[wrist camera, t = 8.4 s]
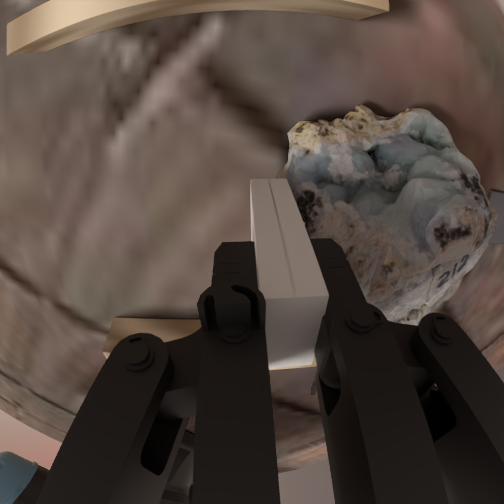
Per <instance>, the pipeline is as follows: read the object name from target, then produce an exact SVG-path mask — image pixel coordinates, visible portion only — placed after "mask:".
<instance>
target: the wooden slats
mask: <svg viewBox="0 0 504 504" xmlns="http://www.w3.org/2000/svg"><path fill="white" fill-rule="evenodd" d="M228 10H275V11H292V12H303V13H313V14H321V15H328V16H335V17H341V18H347V19H352V20H357V21H358V20H361V19H364V18H367V17H371V16H374V15H377V14H381V13H385V12H388V11H389V0H51V1H48V2H46V3H44V4H42V5H40V6H38V7H37V8H35V9H33V10H31V11H29V12H27V13H25V14H24V15H22V16H20V17H18V18H17V19H15V20H13V21H12V22H10V23H8V24H7V55H14V54H22V53H32V52H45V51H49V50H51V49H53V48H56V47H58V46H61V45H63V44H66V43H69V42H71V41H74V40H77V39H80V38H83V37H86V36H89V35H92V34H95V33H98V32H102V31H105V30H108V29H112V28H116V27H120V26H124V25H128V24H132V23H136V22H141V21H146V20H151V19H156V18H162V17H168V16H175V15H182V14H190V13H200V12H211V11H228ZM201 327H202V326H201V321H200V320H194V319H139V318H116V317H114V320H113V323H112V325H111V328H110V331H109V334H108V337H107V339H106V342H105V345H104V348H103V351H102V352H103V354H104V356H105V357H106V359H107V358H108V357H109V355H110V353H111V351H112V350H113V348H114V347H115V346H116V345H117V344H118V343H119V341H121V340H122V339H124V338H126V337H127V336H129V335H132V334H136V333H151V334H153V335H155V336H157V337H160V338H161V339H162V341H163V342H168V341H172V340H176V339H180V338H183V337H186V336H188V335H191V334H192V333H194V332H196V331H197V330H199V329H200V328H201ZM314 366H317V364H316V359H315V355H314V359H313V362H312V365H303V366H292V367H276V368H269V370H275V369H290V368H303V367H314Z"/></svg>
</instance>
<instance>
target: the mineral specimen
mask: <svg viewBox="0 0 504 504" xmlns="http://www.w3.org/2000/svg"><path fill="white" fill-rule="evenodd" d="M287 134H288V138H289V142H290V146H289V154H288V163H287V164H286V165H285V166H284V167H283V168H282V169H281V170H280V171H279V172H278V174H277V177H276V179H287V181H288V184H289V186H290V189H291V191H292V194H293V196H294V199H295V202H296V204H297V207H298V209H299V212H300V215H301V217H302V220H303V221H304V222H305V228H306V231H307V233H308V236H309V239H312V238H332V239H333V240H334V241H335V242H336V243H338V244H339V245H340V246H341V247H342V249H343V251H344V253H345V255H346V257H347V260H348V261H349V264H350V266H351V269H352V270H353V272H354V274H355V276H356V279H357V281H358V283H359V285H360V287H361V290H362V292H363V294H364V296H365V299H366V301H367V303H369V304H372V305H374V306H375V307H377V308H378V309H380V310H381V311H382V312H383V314H384V315H385V317H386V318H387V320H388V321H392V322H396V323H402V324H409V325H416V326H418V324H419V322H420V320H421V319H422V318H423V317H424V316H425V315H427V314H429V313H430V312H431V311H432V310H433V309H434V307H436V306H437V305H439V304H440V303H441V302H443V301H446V300H447V299H449V298H450V297H451V296H452V295H453V294H454V292H455V291H456V288H457V283H458V280H459V279H460V278H461V277H462V276H464V275H465V274H466V273H468V272H469V271H470V270H471V269H472V268H473V267H474V265H475V264H476V263H477V261H478V260H479V258H480V257H481V255H482V254H483V252H484V251H485V249H486V247H487V245H488V243H489V241H490V238H491V237H492V235H493V233H494V231H495V230H496V228H497V227H498V214H497V212H496V210H495V209H494V207H493V206H492V205H491V203H490V201H489V200H488V198H487V196H486V193H485V190H484V188H483V187H482V185H481V184H480V175H479V173H478V171H477V170H476V168H475V166H474V165H473V163H472V162H471V160H469V159H468V158H467V157H465V156H464V155H463V154H461V153H460V152H459V150H458V149H457V148H456V146H455V144H454V142H453V139H452V137H451V135H450V133H449V131H448V128H447V127H446V126H445V125H444V124H443V123H442V122H441V121H440V120H438V119H437V118H436V117H435V116H434V115H433V114H432V113H431V112H430V111H428V110H426V109H422V108H407V109H406V110H405V112H401V113H399V114H398V115H396V116H394V117H392V118H387V117H382V116H379V115H377V114H375V113H373V111H372V110H371V109H369V108H367V107H366V106H364V105H362V104H361V105H358V106H356V108H355V110H354V111H353V112H349V113H348V114H346V116H345V118H344V119H339V118H337V119H335V120H334V121H332V122H328V121H326V120H318V121H317V122H313V121H301V122H298V123H297V124H296V125H295V126H294V127H293V128H292V129H291V130H290V131H289V132H288V133H287Z"/></svg>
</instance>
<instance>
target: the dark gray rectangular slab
mask: <svg viewBox="0 0 504 504" xmlns="http://www.w3.org/2000/svg"><path fill="white" fill-rule="evenodd" d="M488 200H489V201H490V203H491V205H492V206H493V207H494V209H495V210H496V212H497V214H498V227H497V228H496V230H495V231H494V233H493V235H492V237H491V238H490V241H489V243H488V244H504V192H499V191H493V190H490V194H489V197H488Z"/></svg>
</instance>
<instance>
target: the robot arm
mask: <svg viewBox="0 0 504 504" xmlns="http://www.w3.org/2000/svg"><path fill="white" fill-rule="evenodd" d="M250 200H251V241H247V242H222V244H221V245H220V246H219V247H218V249H217V250H216V251H215V255H214V266H213V276H212V284H211V287H209V288H207V289H206V290H205V291H204V292H203V293H202V294H201V295H200V298H199V300H198V303H197V307H198V312H199V316H200V321H201V326H202V327H201V328H200V329H199V330H197V331H196V332H194V333H192V334H191V335H188V336H186V337H183V338H180V339H176V340H172V341H168V342H163V341H162V339H161V338H160V337H157V336H155V335H153V334H151V333H136V334H132V335H129V336H127V337H126V338H124V339H122V340H121V341H119V343H118V344H117V345H116V346H115V347H114V348H113V350H112V351H111V353H110V355H109V357H108V358H107V360H106V362H105V364H104V365H103V367H102V369H101V371H100V372H99V374H98V376H97V378H96V380H95V381H94V383H93V385H92V387H91V389H90V390H89V392H88V394H87V396H86V398H85V400H84V402H83V403H82V405H81V407H80V409H79V411H78V413H77V415H76V417H75V419H74V421H73V423H72V425H71V427H70V429H69V431H68V433H67V435H66V437H65V439H64V441H63V443H62V445H61V447H60V449H59V451H58V453H57V456H56V458H55V460H54V462H53V464H52V466H51V469H50V470H48V469H46V468H44V467H41V466H39V465H38V464H37V463H36V462H31V461H28V460H26V459H24V458H22V457H20V456H18V455H16V454H14V453H12V452H8V451H5V452H1V453H0V504H189V490H190V487H191V485H192V482H193V492H192V504H280V493H279V481H278V469H277V457H276V445H275V433H274V421H273V410H272V399H271V387H270V376H269V368H276V367H292V366H303V365H312V362H313V359H314V355H315V359H316V364H317V368H318V369H317V372H316V376H315V379H314V382H313V385H312V388H311V395H315V393H316V390H317V394H318V400H319V405H320V411H321V416H322V422H323V428H324V434H325V440H326V446H327V452H328V458H329V464H330V471H331V477H332V484H333V490H334V498H335V504H504V383H503V381H502V380H501V379H500V377H499V376H498V375H497V373H496V372H495V370H494V369H493V368H492V366H491V365H490V364H489V362H488V361H487V360H486V358H485V357H484V356H483V355H482V353H481V352H480V351H479V349H478V348H477V347H476V346H475V344H474V343H473V342H472V341H471V339H470V338H469V337H468V336H467V335H466V333H465V332H464V331H463V330H462V328H461V327H460V326H459V325H458V324H457V323H456V322H455V321H454V320H453V319H452V318H450V317H448V316H446V315H444V314H439V313H431V314H427V315H425V316H424V317H423V318H422V319H421V320H420V322H419V324H418V326H416V325H409V324H402V323H396V322H392V321H388V320H387V318H386V317H385V315H384V314H383V312H382V311H381V310H380V309H378V308H377V307H375V306H374V305H372V304H369V303H367V301H366V299H365V296H364V294H363V292H362V290H361V287H360V285H359V283H358V281H357V279H356V276H355V274H354V272H353V270H352V269H351V266H350V264H349V261H348V260H347V257H346V255H345V253H344V251H343V249H342V247H341V246H340V245H339V244H338V243H336V242H335V241H334V240H333V239H332V238H312V239H309V236H308V233H307V231H306V228H305V225H304V223H303V220H302V217H301V215H300V212H299V209H298V207H297V204H296V202H295V199H294V196H293V194H292V191H291V189H290V186H289V184H288V181H287V179H250ZM434 383H435V384H436V385H437V386H435V385H434ZM194 415H196V422H195V435H194V434H191V433H189V432H187V431H185V429H186V427H187V424H188V421H189V418H190V416H194Z"/></svg>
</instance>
